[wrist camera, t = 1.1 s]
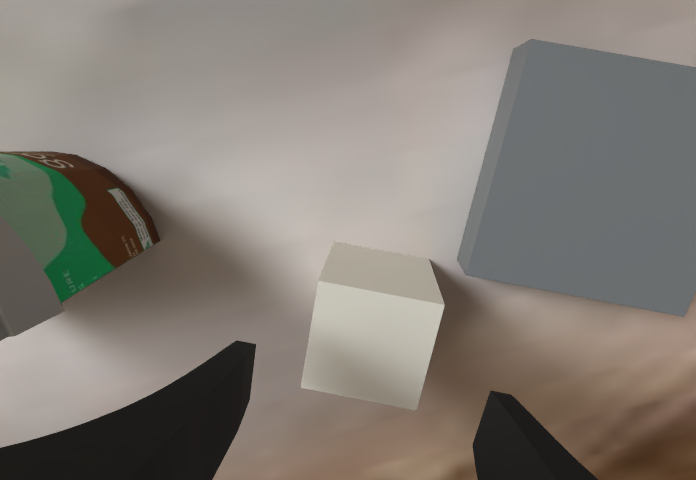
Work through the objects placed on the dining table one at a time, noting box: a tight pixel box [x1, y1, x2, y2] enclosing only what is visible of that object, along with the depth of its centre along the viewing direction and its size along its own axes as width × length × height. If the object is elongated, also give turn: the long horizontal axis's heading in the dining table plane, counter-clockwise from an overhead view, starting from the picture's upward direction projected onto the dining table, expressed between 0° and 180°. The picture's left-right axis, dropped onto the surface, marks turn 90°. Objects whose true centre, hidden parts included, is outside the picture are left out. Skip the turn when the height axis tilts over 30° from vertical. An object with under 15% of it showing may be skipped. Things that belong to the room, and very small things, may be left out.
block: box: [301, 241, 445, 411], centre depth 17 cm, size 4×4×5 cm
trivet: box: [457, 39, 696, 317], centre depth 16 cm, size 9×9×2 cm
